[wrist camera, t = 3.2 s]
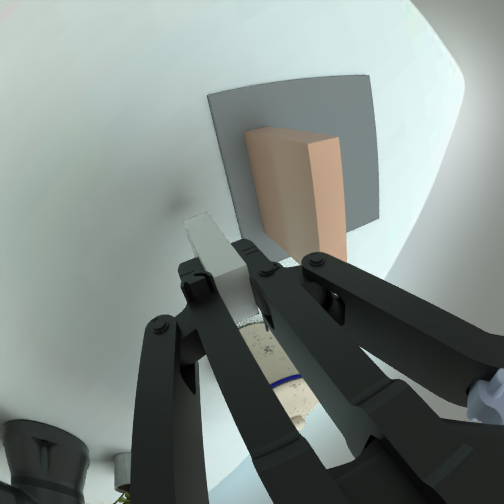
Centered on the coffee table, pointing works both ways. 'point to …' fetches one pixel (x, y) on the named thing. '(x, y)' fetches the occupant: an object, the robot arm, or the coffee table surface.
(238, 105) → the mat
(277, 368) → the teacup with lid
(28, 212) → the coffee table surface
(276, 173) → the tile
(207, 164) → the coffee table surface
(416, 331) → the robot arm
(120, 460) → the house plant
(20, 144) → the coffee table surface
